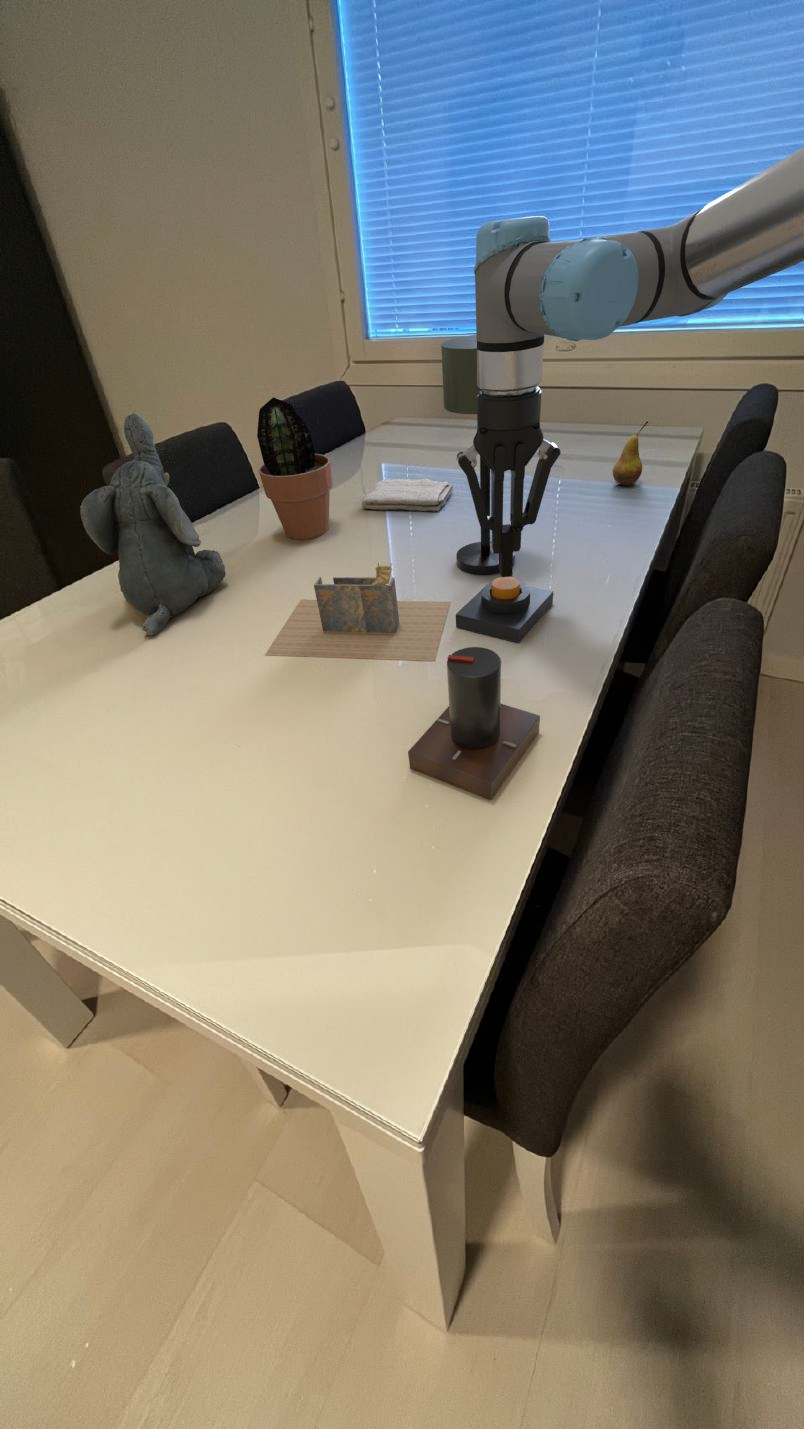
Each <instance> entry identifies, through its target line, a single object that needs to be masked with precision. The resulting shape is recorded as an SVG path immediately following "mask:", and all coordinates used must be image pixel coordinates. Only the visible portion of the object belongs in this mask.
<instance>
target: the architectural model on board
mask: <svg viewBox="0 0 804 1429" xmlns="http://www.w3.org/2000/svg"><path fill="white" fill-rule="evenodd" d="M392 566H393V563H392V562H390V565H380V562H377V567H375V576H374V577H372V576H371V577H370V576H367V577H365V576H362V577H361V576H358V577H357V576H354V577H353V576H333V578H332V580H333V583H331V584H330V583H329V584H327V583H324V584H323V580H322V576H318V577H317V579H316V581H315V583H314V584H313V589H314V593H315V599H300V600H299V602H298V603H297V605H296V606H295V608H294V609H293V611H292V612H291V614H290V616H289V617H288V618H287V619H286V622H285V623H284V625H283V626H282V627H281V629H280V631H279V633H278V634H277V635H276V637H275V639H274V640H273V641H272V643H271V645H270V646H269V647H268V649H267V651H266V652H265V654H264V655H265V656H280V657H281V656H282V657H283V656H284V657H286V656H287V657H309V658H310V657H311V658H314V657H315V658H336V659H337V658H342V659H368V660H369V659H370V660H398V661H422V662H423V661H425V662H428V661H429V662H435V661H436V658H437V654H438V650H439V647H440V643H441V639H442V635H443V632H444V628H445V624H446V621H447V618H448V613H449V609H450V606H451V601H421V600H420V601H419V600H418V601H417V600H416V601H415V600H413V601H412V600H398V598H397V589H396V580H395V576H393V577H391V576H392V575H391V574H392Z"/></svg>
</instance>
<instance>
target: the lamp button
mask: <svg viewBox="0 0 804 1429" xmlns="http://www.w3.org/2000/svg"><path fill="white" fill-rule="evenodd" d="M494 579H495V580H493V579H492V580H493V581H492V580H491V581H492V596H493V597H494V598H498V599H513V598H515V597H518V596H519V592H520V582H521V581H520V580H519V579H517V578H516V577H513V576H512V577H501V576H500V577H497V578H494Z"/></svg>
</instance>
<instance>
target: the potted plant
mask: <svg viewBox="0 0 804 1429" xmlns="http://www.w3.org/2000/svg"><path fill="white" fill-rule="evenodd" d="M257 419H258V420H257V432H256V438H257V441H258V442H257V443H258V445H259V449H260V453H261V458H262V463H263V464H262V465H260V467H259V469H258V474H259V477H260V480H261V483H262V487H263V491H264V494H265V496H266V498H267V499H269V500H270V501H271V503H272V506H273V508H274V510H275V512H276V514H277V517H278V520H279V522H280V524H281V527H282V528H283V531H284V533H285V535H286V536H287V537H288V538H290V539H293V540H310V539H314V538H317V537H320V536H323V535H324V534H325V533H327V531H329V528H330V494H331V492H330V491H331V489H333V485H334V483H333V475H332V464H331V458H329V457H328V456H327V455H324V454H321V453H316V450H315V446H314V443H313V438H312V436H311V431H310V430H309V429H308V427H307V425H306V423H305V422H304V421H303V419H302V417H301V416H300V415H298V414H297V412H296V410H295V408H294V407H293V405H292V404H290V403H288V402H287V401H284V400H282V399H279V398H277V397H273V396H272V398H270V400H268V401H267V402H266V403H265V404H264V405H262V406H261V407H260V408H259V411H258V418H257Z"/></svg>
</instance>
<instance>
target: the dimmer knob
mask: <svg viewBox="0 0 804 1429" xmlns="http://www.w3.org/2000/svg"><path fill="white" fill-rule="evenodd" d="M446 672H447V690H448V693H447V694H448V707H449V711H450V730H451V737H452V739H453V740H454V742H455V743H457V744H458V745H460V746H462V747H464V748H468V749H482V748H486V747H489V746H491V745H492V744H494V743H495V742H496V741H497V740H498V738H499V736H500V705H501V704H502V702H501V701H502V699H501V698H502V697H501V696H502V695H501V694H502V693H501V692H502V691H501V690H502V659H501V657H500V655H499V654H498V653H497V652H495V651H494V650H492V649H489V648H487V647H481V646H469V647H464V648H461V649H458V650H455V651H454V652H453V653H451V654H448V656H447V660H446Z"/></svg>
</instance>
